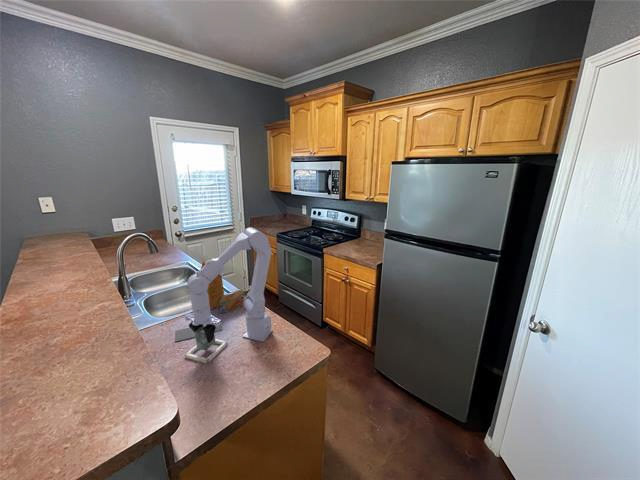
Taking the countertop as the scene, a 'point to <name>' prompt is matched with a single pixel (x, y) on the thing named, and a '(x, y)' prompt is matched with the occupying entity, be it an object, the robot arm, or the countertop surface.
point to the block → (203, 339)
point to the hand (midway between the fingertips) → (205, 339)
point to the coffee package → (214, 289)
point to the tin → (231, 301)
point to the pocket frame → (208, 359)
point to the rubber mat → (189, 333)
